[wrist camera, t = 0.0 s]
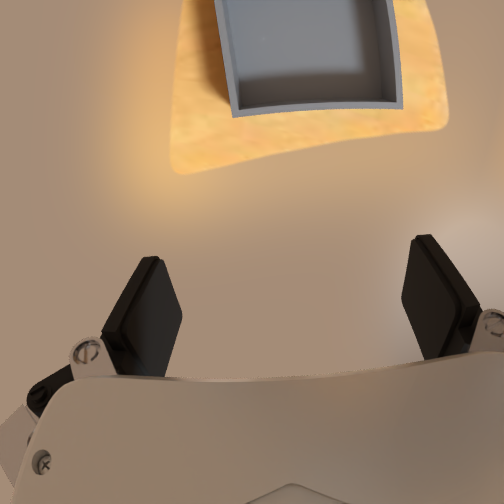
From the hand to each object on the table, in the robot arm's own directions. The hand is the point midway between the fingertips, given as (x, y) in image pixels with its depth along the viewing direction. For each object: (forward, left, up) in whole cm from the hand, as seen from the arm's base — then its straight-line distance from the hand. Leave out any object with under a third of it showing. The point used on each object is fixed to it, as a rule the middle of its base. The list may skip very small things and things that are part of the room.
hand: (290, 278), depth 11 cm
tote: (-11, +5, -31) cm, 33 cm away
